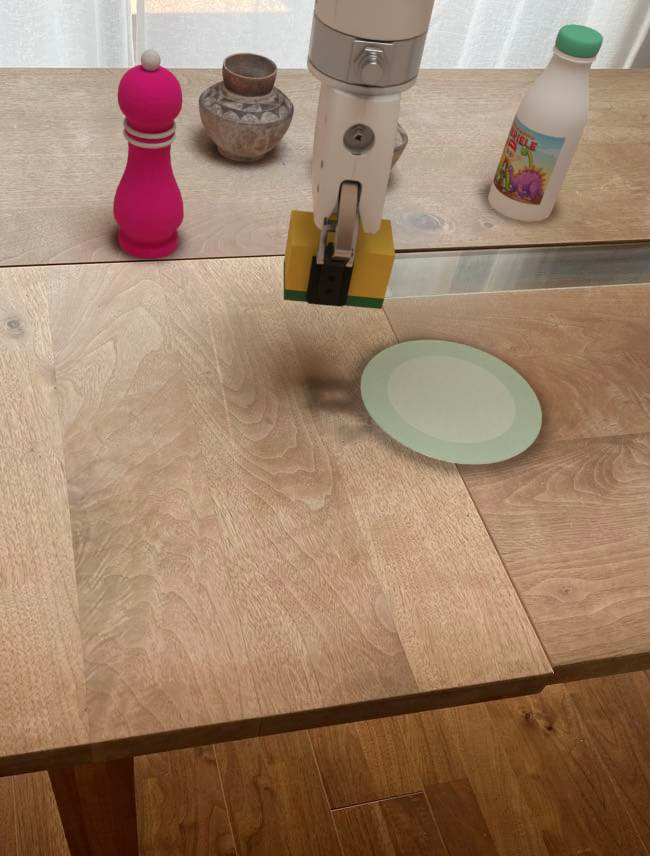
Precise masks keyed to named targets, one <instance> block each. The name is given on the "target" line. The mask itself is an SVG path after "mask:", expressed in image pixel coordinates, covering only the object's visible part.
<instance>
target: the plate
mask: <svg viewBox="0 0 650 856" xmlns="http://www.w3.org/2000/svg"><path fill="white" fill-rule="evenodd" d="M360 394H361V399H362V402H363V405H364V407H365V409H366V411H367V412H368V415H369V416H370V417H371V419H372V420H373V421H374V423H375V424H377V426H378V427H379V428H380V429H381V430H382V431H383V432H384V433H386V434H387V435H388V436H390V437H391V438H392V439H394V441H396V442H398V443H400V445H402V446H404V447H405V448H408V449H409V450H412V451H414V452H416V453H419V454H421V455H423V456H426V457H429V458H431V459H435V460H438V461H443V462H447V463H452V464H461V465H489V464H494V463H500V462H503V461H506V460H509V459H513V458H514V457H516V456H518V455H520V454H521V453H523V452H524V451H526V450H527V449H528V448H529V447H531V446H532V444H533V443H534V442H535V440H537V438H538V436H539V434H540V431H541V428H542V424H543V412H542V407H541V403H540V401H539V399H538V397H537V394H536V392H535V391H534V389H533V387H531V385H530V384H529V382H528V381H527V380H526V379H525V378H524V377H523V376H522V374H520V373H519V372H518V371H517V370H515V369H514V368H513V367H512V366H510V365H509V364H508V363H506V362H504V361H503V360H501V359H500V358H497V357H496V356H495V355H492V354H491V353H489V352H486V351H484V350H481V349H479V348H476V347H474V346H470V345H467V344H464V343H460V342H454V341H448V340H441V339H417V340H408V341H404V342H399V343H397V344H393V345H391V346H389V347H386V348H385V349H383V350H381V351H380V352H378V353H377V354H375V355H374V356H373V357H372V358H371V359H370V360H369V362H368V363H367V364H366V366H365V367H364V370H363V372H362V374H361V378H360Z"/></svg>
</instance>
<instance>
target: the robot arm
mask: <svg viewBox="0 0 650 856" xmlns="http://www.w3.org/2000/svg"><path fill="white" fill-rule="evenodd" d="M435 1H436V0H314V7H313V14H312V21H311V29H310V36H309V38H310V39H309V43H308V51H307V52H308V53H307V57H306V58H307V59H306V67H307V70H308V71H309V73H310V74H311V75H312V77H314V78H316V80H318V81H320V82H321V83H320V89H319V90H320V91H319V96H318V104H317V110H316V111H317V112H316V118H315V127H314V133H313V134H314V136H313V146H312V161H311V189H312V193H311V194H312V212H313V215H314V223H315V224H316V226H317V227H318V228H319V229H320V232H319V240H318V247H317V255H316V256H312V262H311V269H310V275H309V281H308V287H307V293H306V301H307V302H306V303H307V304H309V305H318V306H328V307H340V308H341V307H344V305H345V304H346V301H347V296H348V291H349V287H350V282H351V277H352V272H353V267H354V254H355V248H356V242H357V235H358V230H359V222H360V218H361V222H362V226H363V230H364V233H370V234H371V235H374V234H375V233H377V232H378V231H379V229H380V225H381V219H383V213H384V207H385V201H386V195H387V191H388V185H389V179H390V175H391V170H392V169H391V164H392V158H393V152H394V146H395V140H396V133H397V126H398V123H399V117H400V110H401V109H400V108H401V99H402V93H403V92H406V91H408V90H409V89H412V88H413V87H414V86H415V84H416V83H417V80H418V76H419V72H420V67H421V63H422V58H423V54H424V51H425V45H426V41H427V37H428V32H429V28H430V23H431V19H432V15H433V10H434V5H435ZM390 169H391V170H390ZM331 214H335V215H337V219H336V220H328V218H329V216H330V215H331ZM328 232H335V237H334V241H333V242H329V243H328V244H327V246H326V243H327V236H328Z"/></svg>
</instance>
